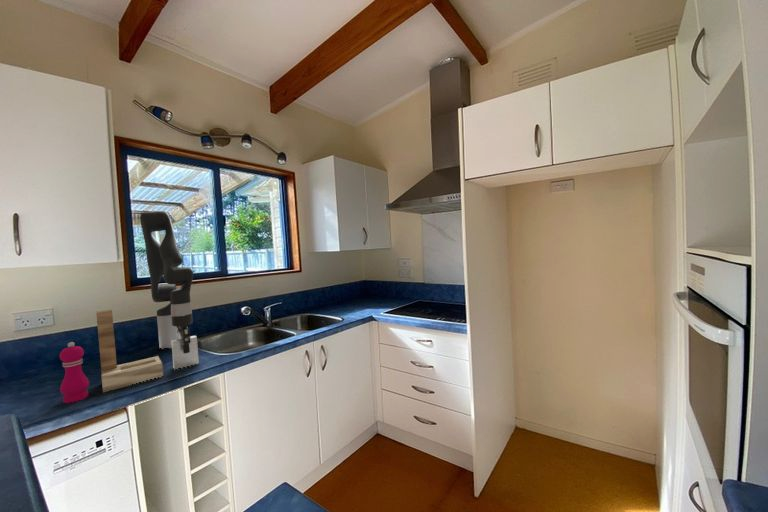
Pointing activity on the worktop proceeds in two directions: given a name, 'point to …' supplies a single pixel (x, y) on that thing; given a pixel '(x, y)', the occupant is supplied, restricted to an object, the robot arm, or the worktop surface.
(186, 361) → the grey stone slab
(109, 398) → the worktop surface
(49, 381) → the worktop surface
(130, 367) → the wooden l-shaped stand
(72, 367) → the pepper mill
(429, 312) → the worktop surface
